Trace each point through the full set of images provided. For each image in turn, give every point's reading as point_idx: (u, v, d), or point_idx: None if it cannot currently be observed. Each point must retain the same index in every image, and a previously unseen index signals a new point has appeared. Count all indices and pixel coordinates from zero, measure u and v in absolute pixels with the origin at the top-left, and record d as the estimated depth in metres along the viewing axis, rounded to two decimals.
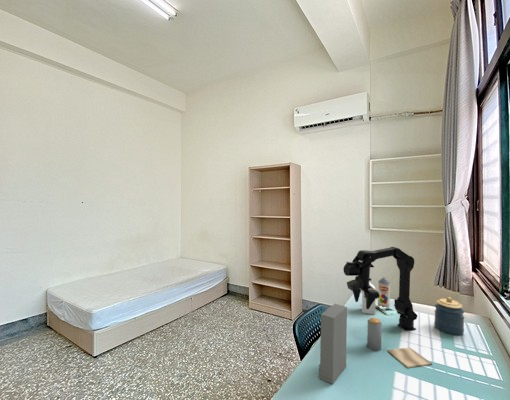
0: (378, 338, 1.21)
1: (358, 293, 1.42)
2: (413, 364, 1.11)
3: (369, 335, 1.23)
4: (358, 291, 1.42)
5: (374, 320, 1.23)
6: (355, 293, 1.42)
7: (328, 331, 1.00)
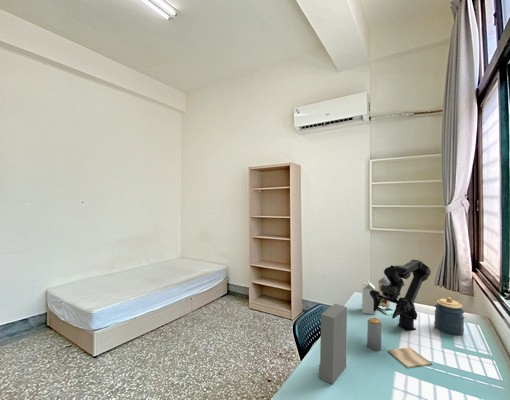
0: (378, 338, 1.21)
1: (377, 304, 1.35)
2: (413, 364, 1.11)
3: (369, 335, 1.23)
4: (378, 302, 1.35)
5: (374, 320, 1.23)
6: (376, 302, 1.34)
7: (327, 331, 1.00)
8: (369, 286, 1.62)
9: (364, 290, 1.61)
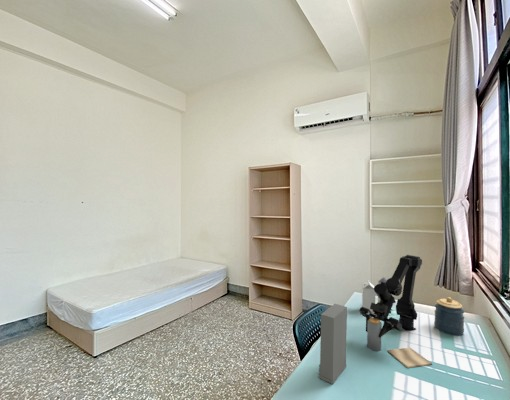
0: (378, 338, 1.21)
1: None
2: (413, 364, 1.11)
3: (369, 335, 1.23)
4: None
5: (374, 320, 1.23)
6: None
7: (328, 331, 1.00)
8: (369, 286, 1.62)
9: (364, 290, 1.61)
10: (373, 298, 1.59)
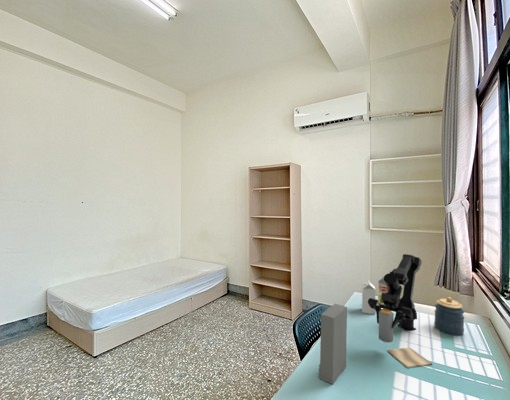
0: (391, 329, 1.18)
1: None
2: (413, 364, 1.11)
3: (381, 326, 1.19)
4: None
5: (386, 311, 1.20)
6: None
7: (328, 331, 1.00)
8: (369, 286, 1.62)
9: (364, 290, 1.61)
10: (373, 298, 1.59)
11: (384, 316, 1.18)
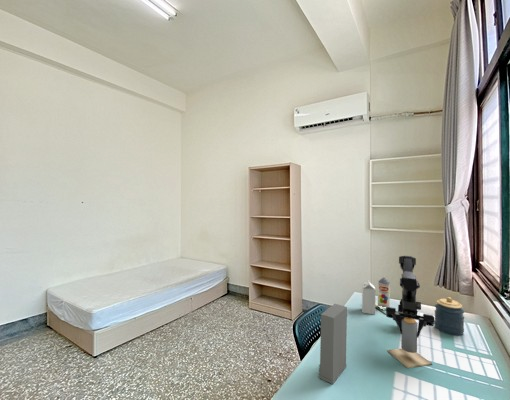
0: (416, 338, 1.14)
1: None
2: (413, 364, 1.11)
3: (407, 337, 1.14)
4: None
5: (410, 320, 1.15)
6: (400, 322, 1.19)
7: (327, 331, 1.00)
8: (369, 286, 1.62)
9: (364, 290, 1.61)
10: (373, 298, 1.59)
11: (410, 326, 1.13)
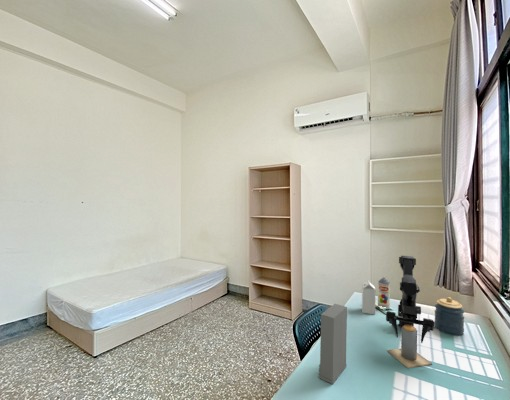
0: (416, 346, 1.14)
1: (396, 327, 1.21)
2: (413, 364, 1.11)
3: (407, 345, 1.14)
4: None
5: (410, 327, 1.15)
6: (396, 326, 1.20)
7: (328, 331, 1.00)
8: (369, 286, 1.62)
9: (364, 290, 1.61)
10: (373, 298, 1.59)
11: (410, 334, 1.13)
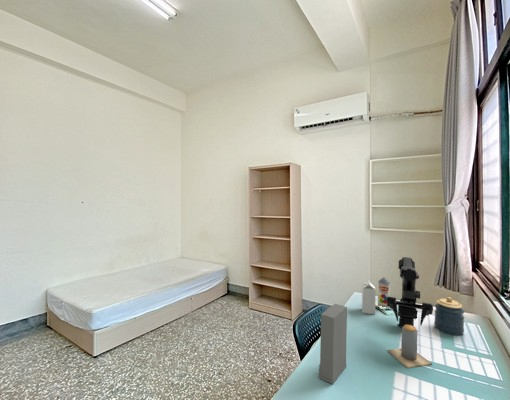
0: (416, 346, 1.14)
1: None
2: (413, 364, 1.11)
3: (407, 345, 1.14)
4: None
5: (410, 327, 1.15)
6: None
7: (328, 331, 1.00)
8: (369, 286, 1.62)
9: (364, 290, 1.61)
10: (373, 298, 1.59)
11: (410, 333, 1.13)
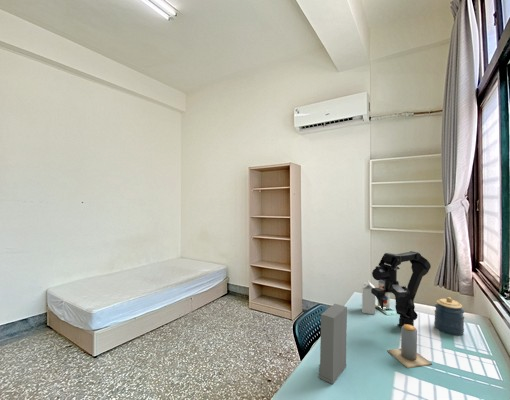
0: (416, 345, 1.14)
1: None
2: (413, 364, 1.11)
3: (407, 344, 1.14)
4: None
5: (410, 327, 1.16)
6: None
7: (327, 331, 1.00)
8: (369, 286, 1.62)
9: (364, 290, 1.61)
10: (373, 298, 1.59)
11: (410, 333, 1.14)
